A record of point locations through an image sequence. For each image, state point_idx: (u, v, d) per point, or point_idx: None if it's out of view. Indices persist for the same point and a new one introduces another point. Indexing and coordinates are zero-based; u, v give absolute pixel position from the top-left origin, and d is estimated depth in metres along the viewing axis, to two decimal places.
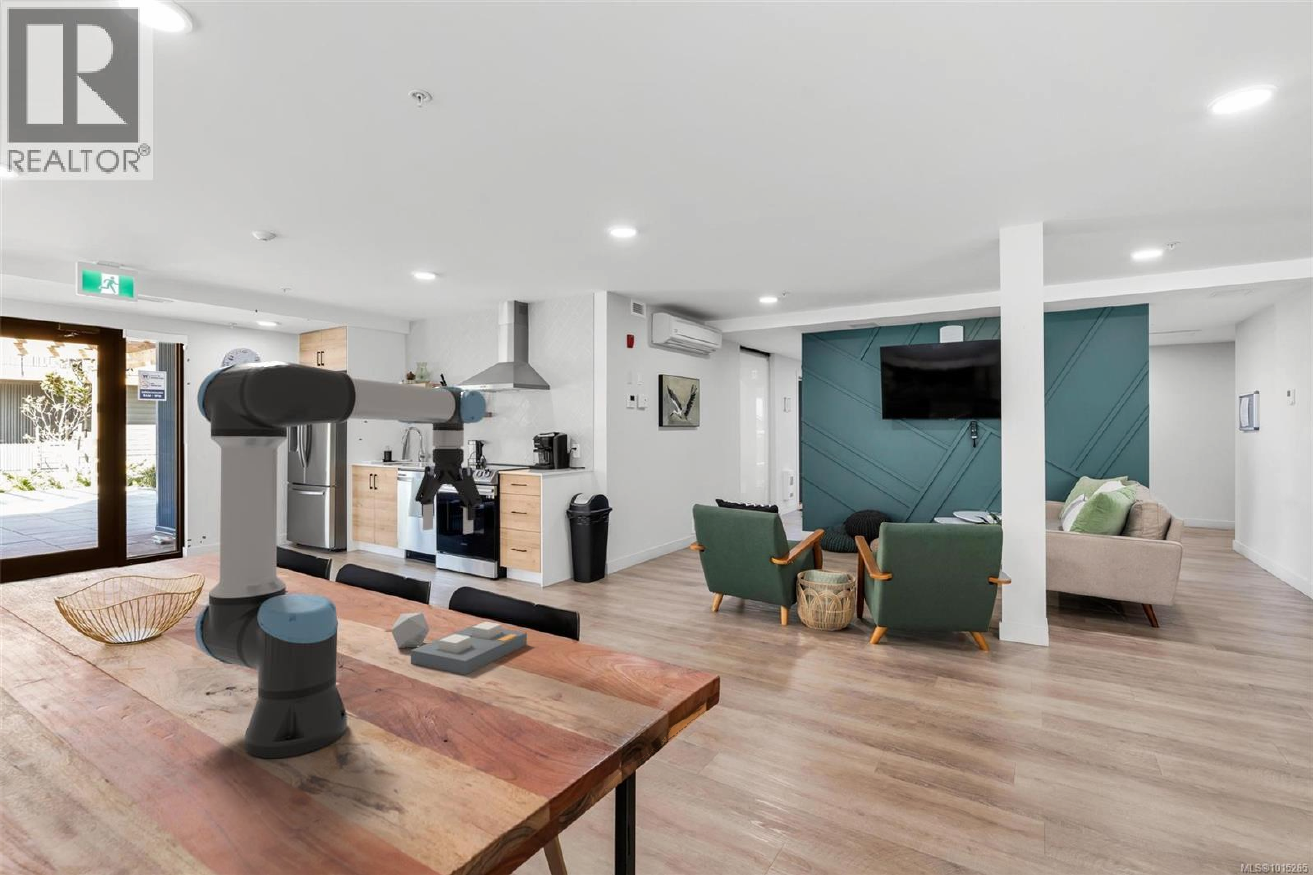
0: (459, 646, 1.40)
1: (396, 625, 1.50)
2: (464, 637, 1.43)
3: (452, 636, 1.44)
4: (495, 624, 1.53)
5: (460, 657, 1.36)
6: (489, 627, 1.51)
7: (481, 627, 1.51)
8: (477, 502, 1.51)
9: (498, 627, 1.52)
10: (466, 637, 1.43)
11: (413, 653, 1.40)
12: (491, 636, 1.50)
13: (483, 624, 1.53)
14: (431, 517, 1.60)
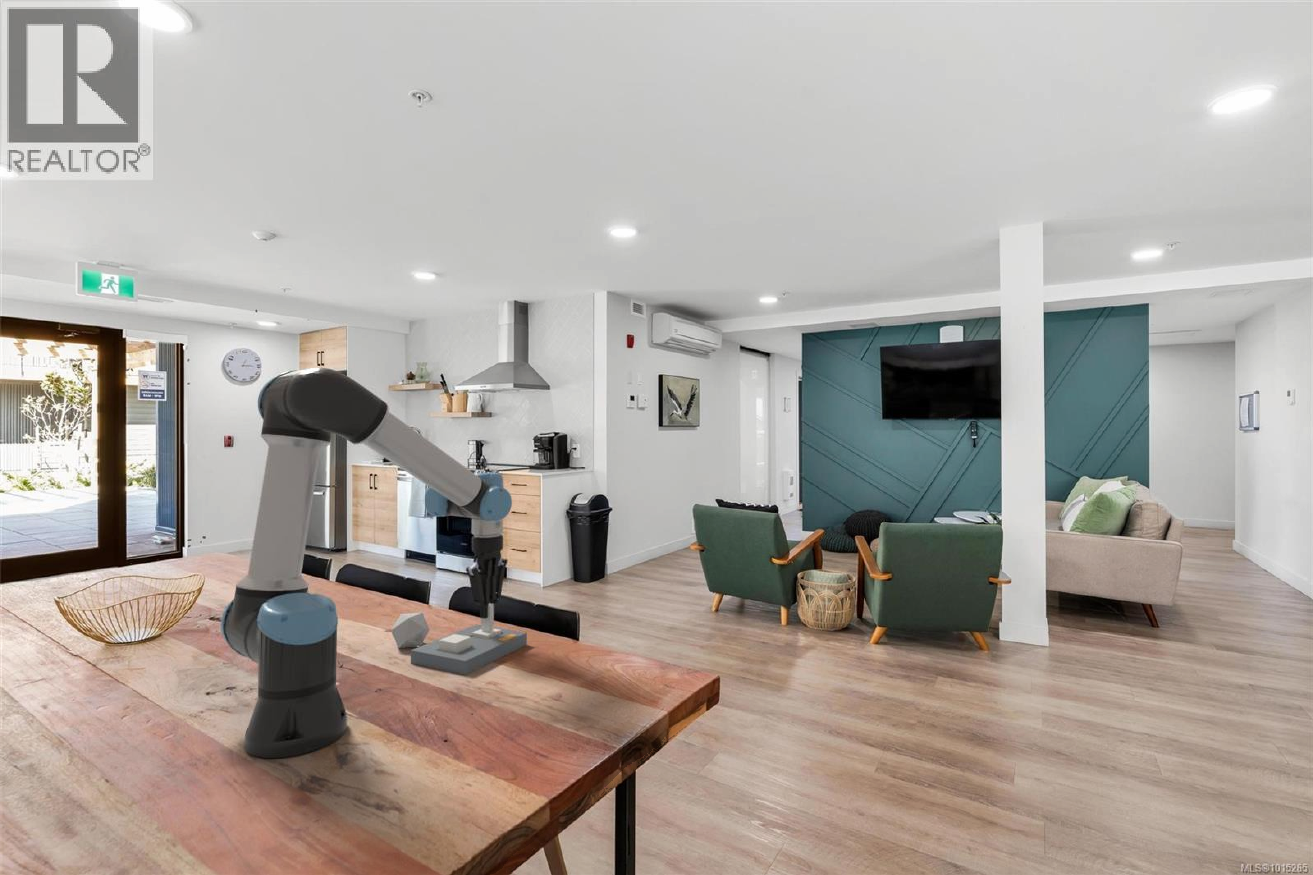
0: (459, 646, 1.40)
1: (396, 625, 1.50)
2: (464, 637, 1.43)
3: (452, 636, 1.44)
4: (495, 630, 1.53)
5: (460, 657, 1.36)
6: (489, 633, 1.51)
7: (481, 632, 1.51)
8: (476, 603, 1.49)
9: (498, 633, 1.52)
10: (466, 637, 1.43)
11: (413, 653, 1.40)
12: None
13: None
14: None
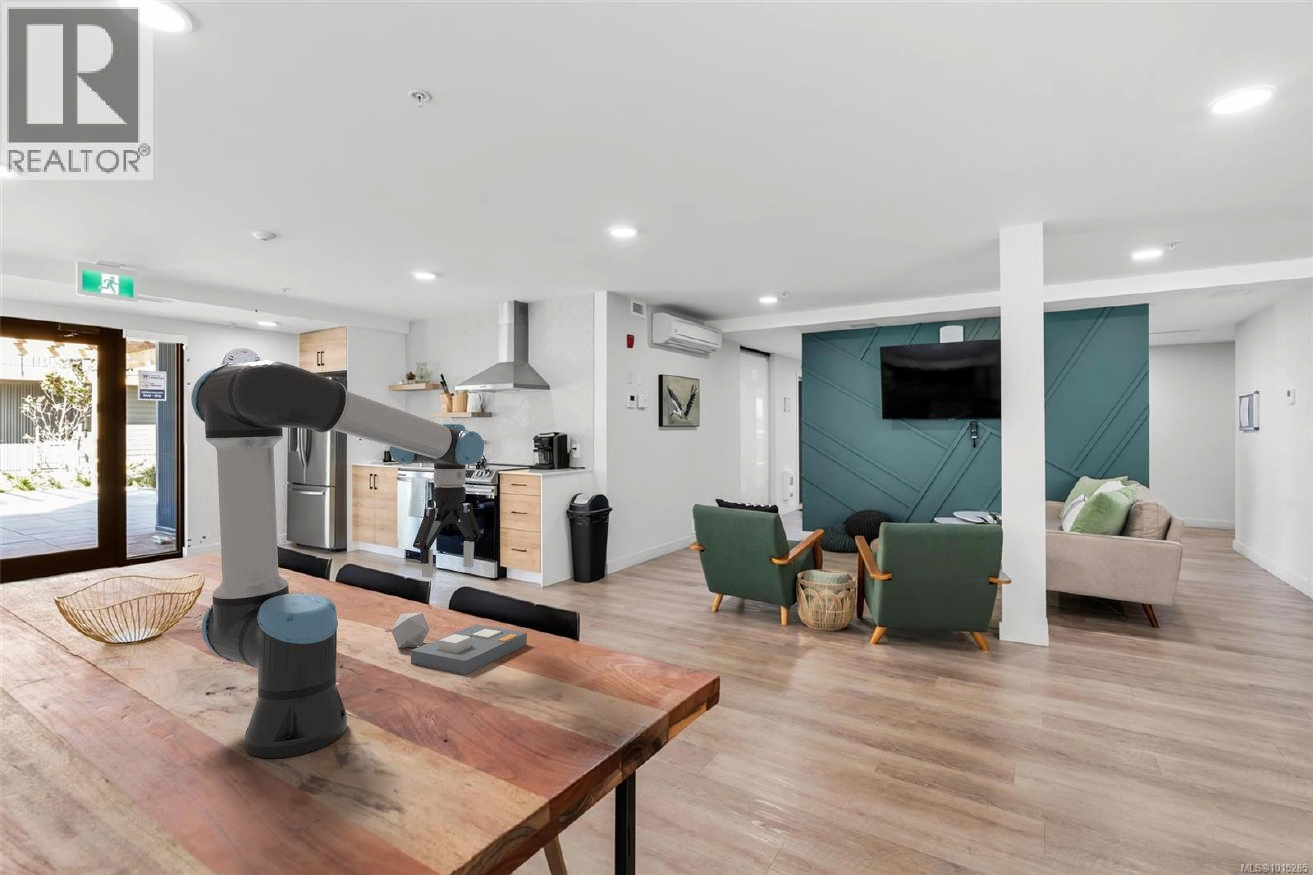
0: (459, 646, 1.40)
1: (396, 625, 1.50)
2: (464, 637, 1.43)
3: (452, 636, 1.44)
4: (495, 631, 1.53)
5: (460, 657, 1.36)
6: (489, 635, 1.51)
7: (481, 634, 1.51)
8: (415, 545, 1.44)
9: (498, 634, 1.52)
10: (466, 637, 1.43)
11: (413, 653, 1.40)
12: None
13: (483, 631, 1.53)
14: (469, 555, 1.58)
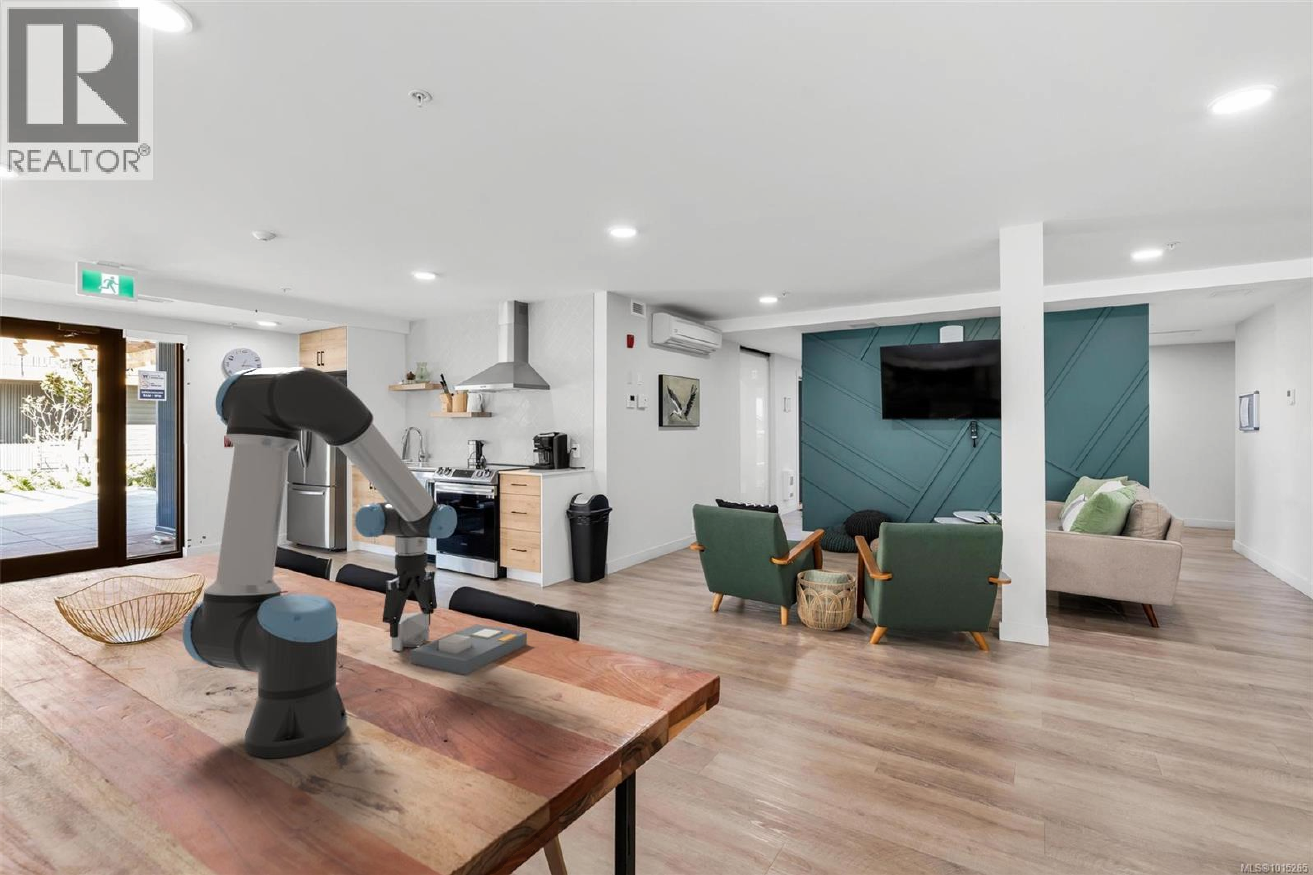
0: (459, 646, 1.40)
1: None
2: (464, 637, 1.43)
3: (452, 636, 1.44)
4: (495, 631, 1.53)
5: (460, 657, 1.36)
6: (489, 635, 1.51)
7: (481, 634, 1.51)
8: (384, 621, 1.46)
9: (498, 634, 1.52)
10: (466, 637, 1.43)
11: (413, 653, 1.40)
12: None
13: (483, 631, 1.53)
14: None
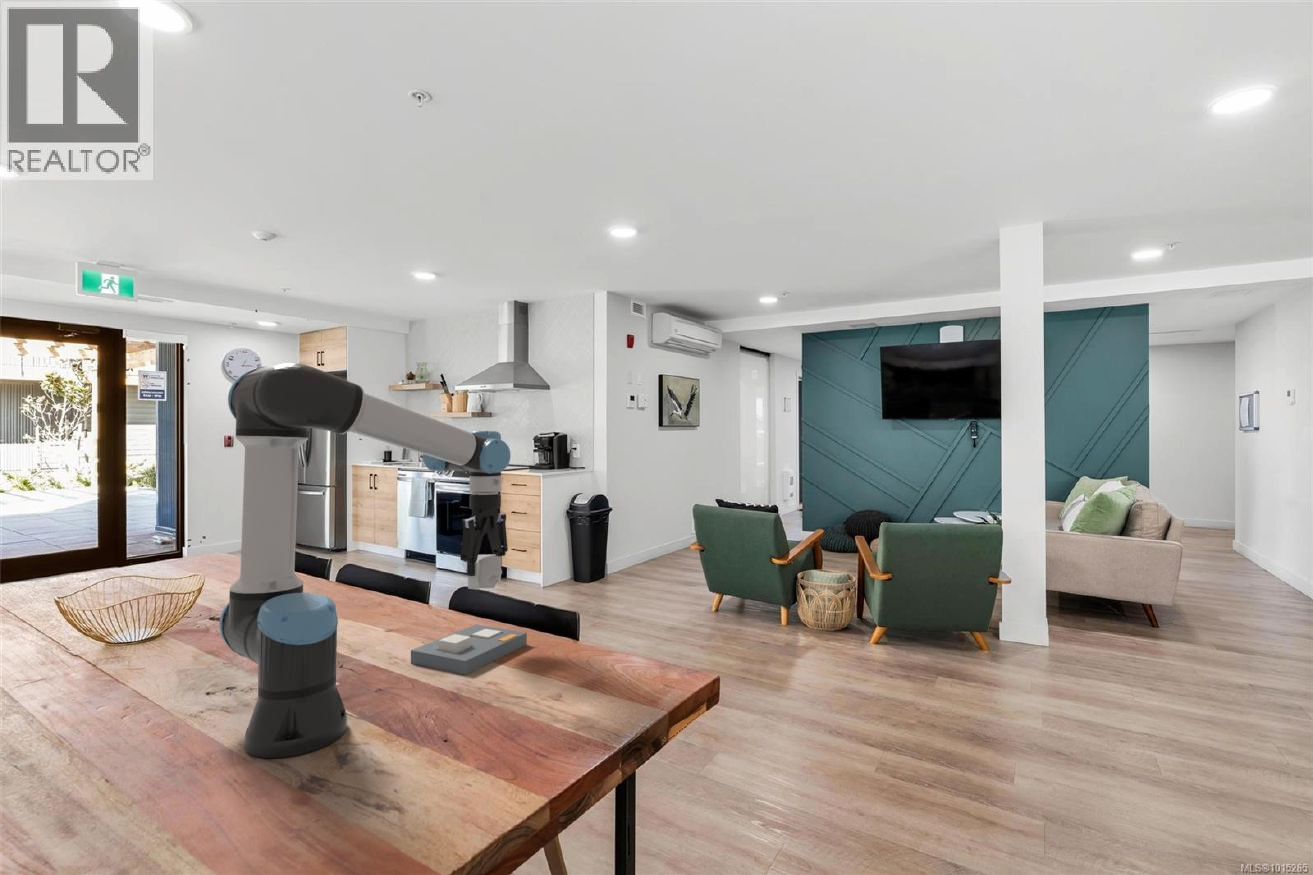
0: (459, 646, 1.40)
1: None
2: (464, 637, 1.43)
3: (452, 636, 1.44)
4: (495, 631, 1.53)
5: (460, 657, 1.36)
6: (489, 635, 1.51)
7: (481, 634, 1.51)
8: (463, 559, 1.46)
9: (498, 634, 1.52)
10: (466, 637, 1.43)
11: (413, 653, 1.40)
12: None
13: (483, 631, 1.53)
14: None
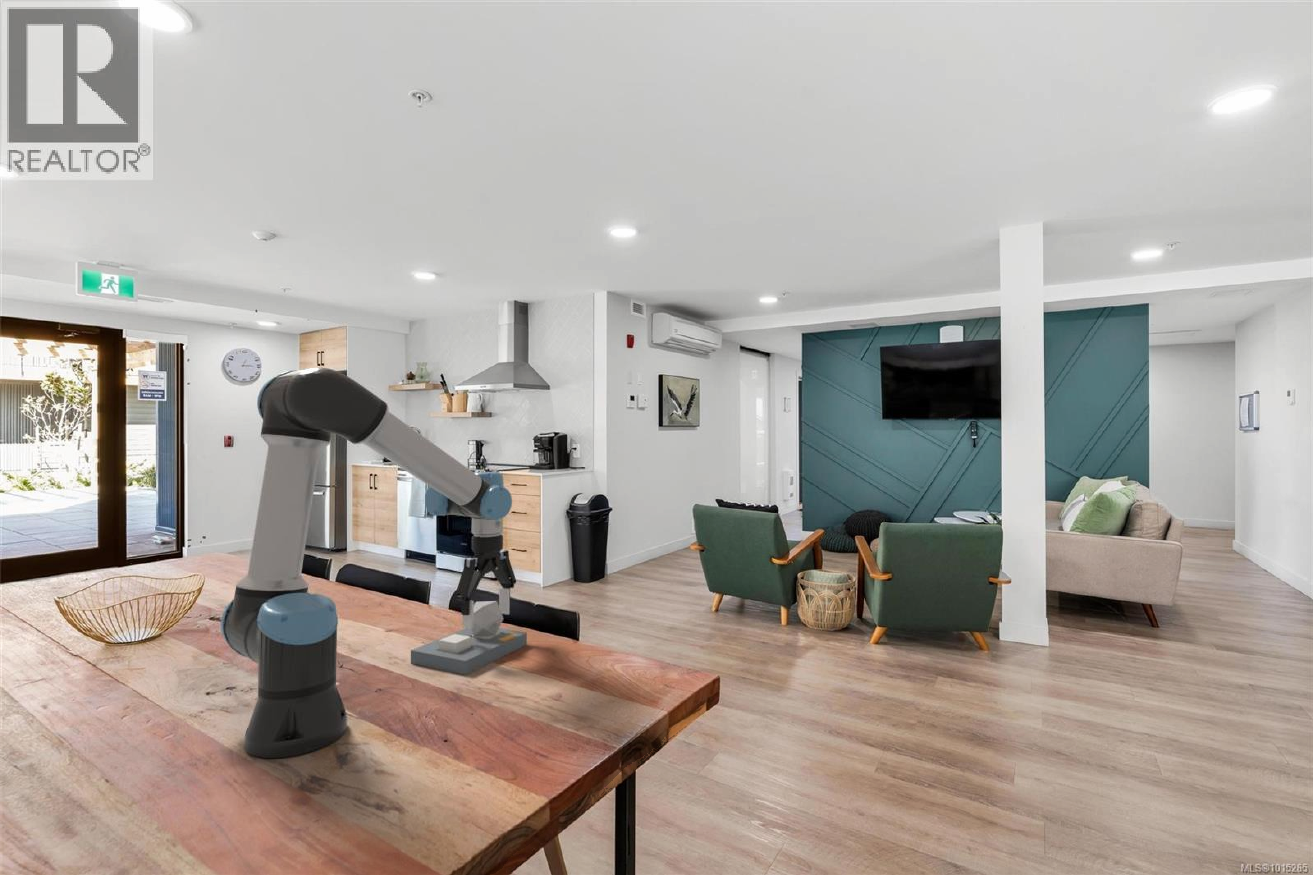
0: (459, 646, 1.40)
1: None
2: (464, 637, 1.43)
3: (452, 636, 1.44)
4: None
5: (460, 657, 1.36)
6: (489, 636, 1.51)
7: None
8: (457, 597, 1.43)
9: None
10: (466, 637, 1.43)
11: (413, 653, 1.40)
12: None
13: None
14: (505, 602, 1.58)
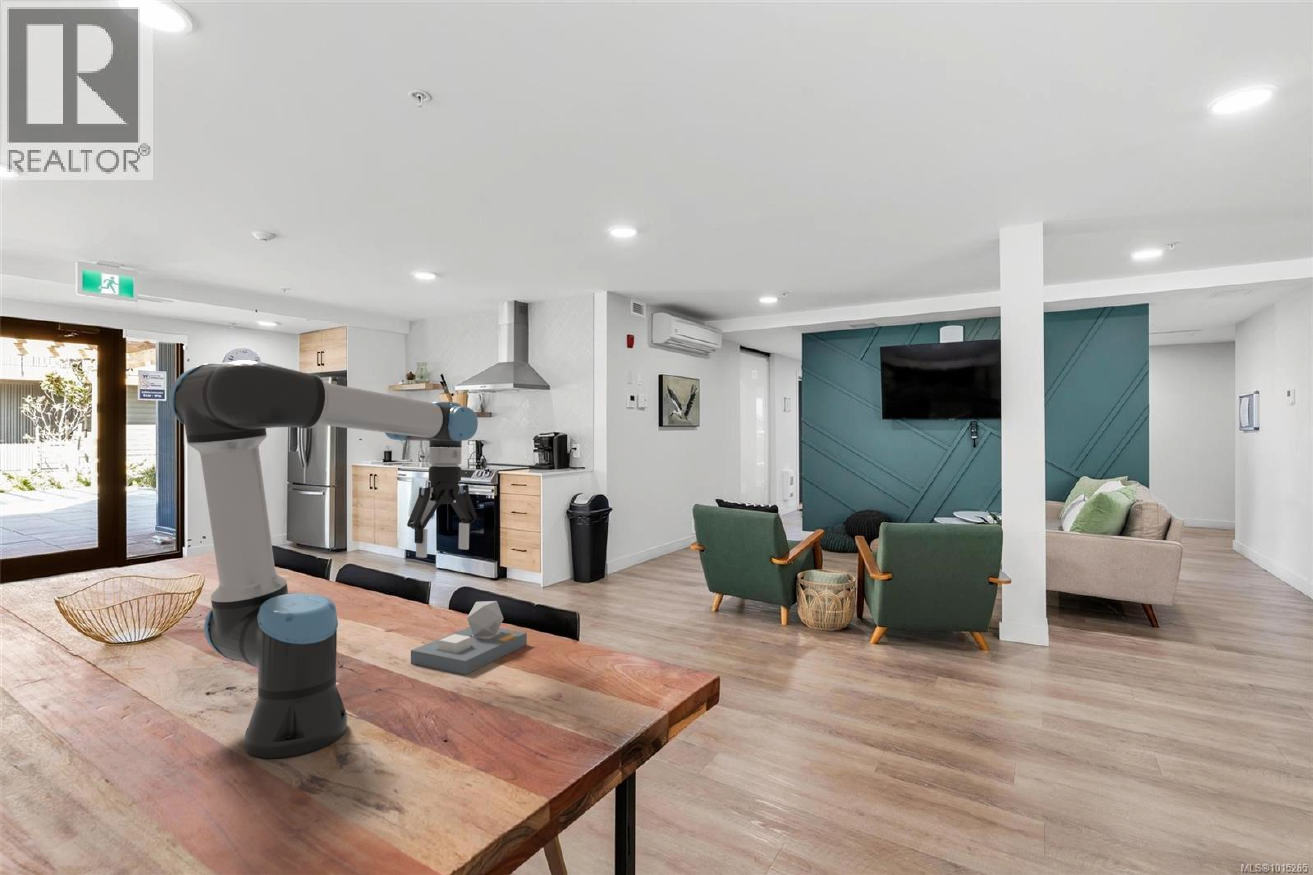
0: (459, 646, 1.40)
1: (472, 613, 1.50)
2: (464, 637, 1.43)
3: (452, 636, 1.44)
4: None
5: (460, 657, 1.36)
6: (489, 636, 1.51)
7: None
8: (409, 524, 1.41)
9: None
10: (466, 637, 1.43)
11: (413, 653, 1.40)
12: None
13: None
14: (465, 537, 1.55)
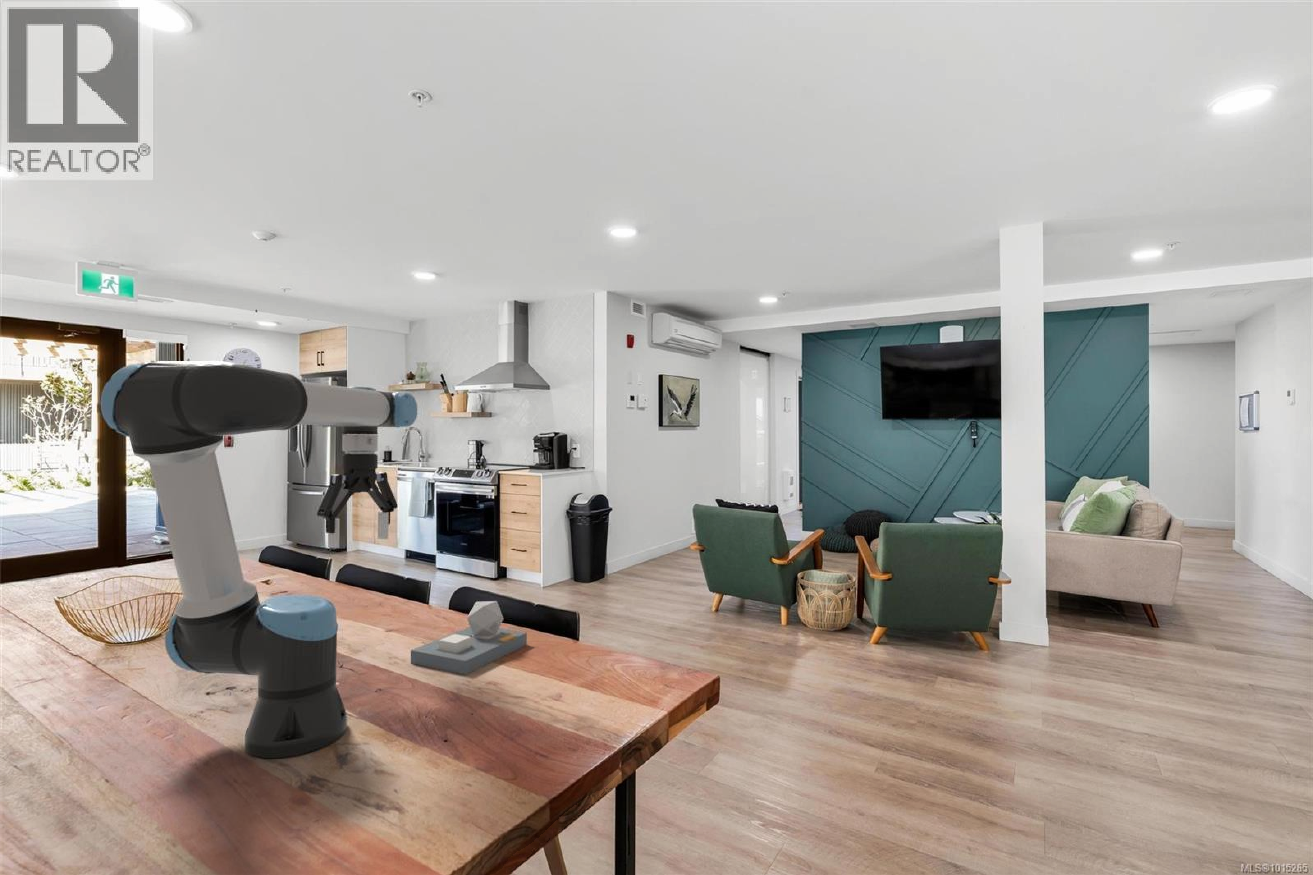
0: (459, 646, 1.40)
1: (472, 613, 1.50)
2: (464, 637, 1.43)
3: (452, 636, 1.44)
4: None
5: (460, 657, 1.36)
6: (489, 636, 1.51)
7: None
8: (319, 513, 1.36)
9: None
10: (466, 637, 1.43)
11: (413, 653, 1.40)
12: None
13: None
14: (384, 526, 1.50)
